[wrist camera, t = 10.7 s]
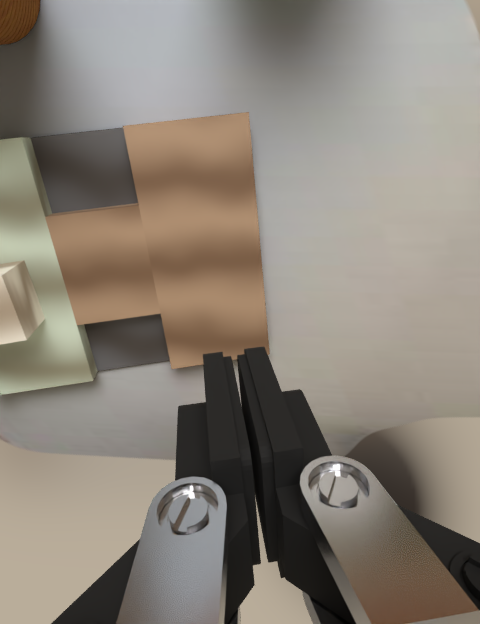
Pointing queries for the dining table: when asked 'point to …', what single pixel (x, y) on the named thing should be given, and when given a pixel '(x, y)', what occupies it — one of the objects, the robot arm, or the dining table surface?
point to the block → (17, 303)
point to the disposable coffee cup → (17, 19)
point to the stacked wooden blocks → (133, 247)
